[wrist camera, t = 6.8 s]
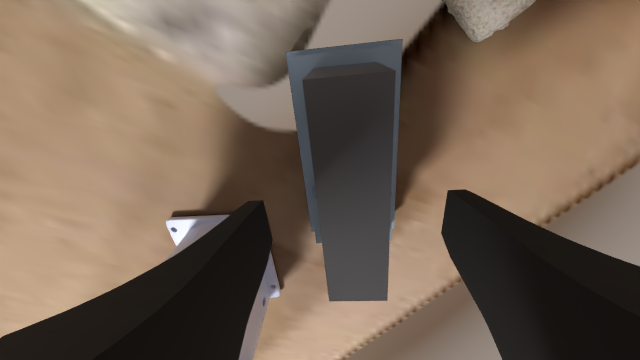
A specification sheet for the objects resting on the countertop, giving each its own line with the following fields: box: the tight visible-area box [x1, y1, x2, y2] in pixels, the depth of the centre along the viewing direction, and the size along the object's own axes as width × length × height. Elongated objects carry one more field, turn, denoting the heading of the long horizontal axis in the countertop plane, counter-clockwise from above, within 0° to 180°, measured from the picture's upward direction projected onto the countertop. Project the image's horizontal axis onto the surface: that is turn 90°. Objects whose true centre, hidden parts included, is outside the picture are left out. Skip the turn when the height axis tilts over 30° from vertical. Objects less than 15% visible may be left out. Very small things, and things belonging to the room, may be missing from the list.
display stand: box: [286, 39, 403, 243], centre depth 15 cm, size 12×6×5 cm, turn 6°
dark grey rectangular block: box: [302, 62, 396, 301], centre depth 13 cm, size 11×3×4 cm, turn 6°
